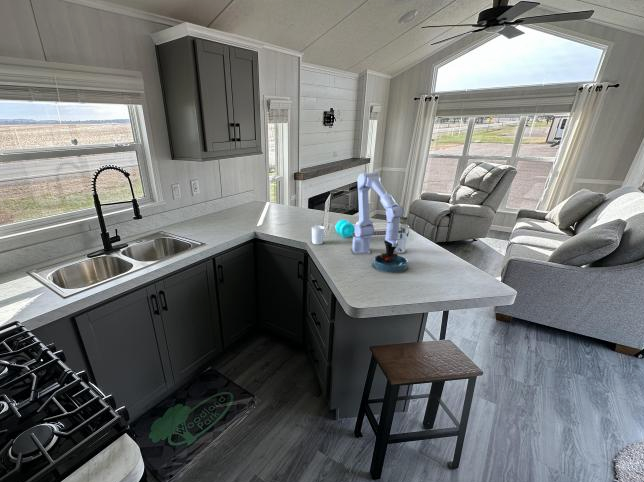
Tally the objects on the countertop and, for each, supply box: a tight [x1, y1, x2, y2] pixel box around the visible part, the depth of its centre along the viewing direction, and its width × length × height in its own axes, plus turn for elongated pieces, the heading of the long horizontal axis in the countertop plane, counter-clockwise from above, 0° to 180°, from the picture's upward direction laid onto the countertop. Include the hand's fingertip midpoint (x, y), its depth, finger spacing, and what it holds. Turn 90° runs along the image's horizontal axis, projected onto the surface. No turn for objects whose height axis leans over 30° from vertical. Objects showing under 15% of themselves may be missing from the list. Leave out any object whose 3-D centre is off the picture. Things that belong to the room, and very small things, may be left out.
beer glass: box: [394, 223, 410, 254], centre depth 185 cm, size 7×7×15 cm
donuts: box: [335, 219, 355, 238], centre depth 214 cm, size 10×10×10 cm
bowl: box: [373, 254, 409, 273], centre depth 168 cm, size 16×16×4 cm
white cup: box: [311, 225, 326, 245], centre depth 203 cm, size 8×8×10 cm
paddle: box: [380, 252, 399, 258], centre depth 170 cm, size 8×2×2 cm, turn 86°
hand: (389, 255), depth 170 cm, fingers closed on paddle, 2 cm apart
